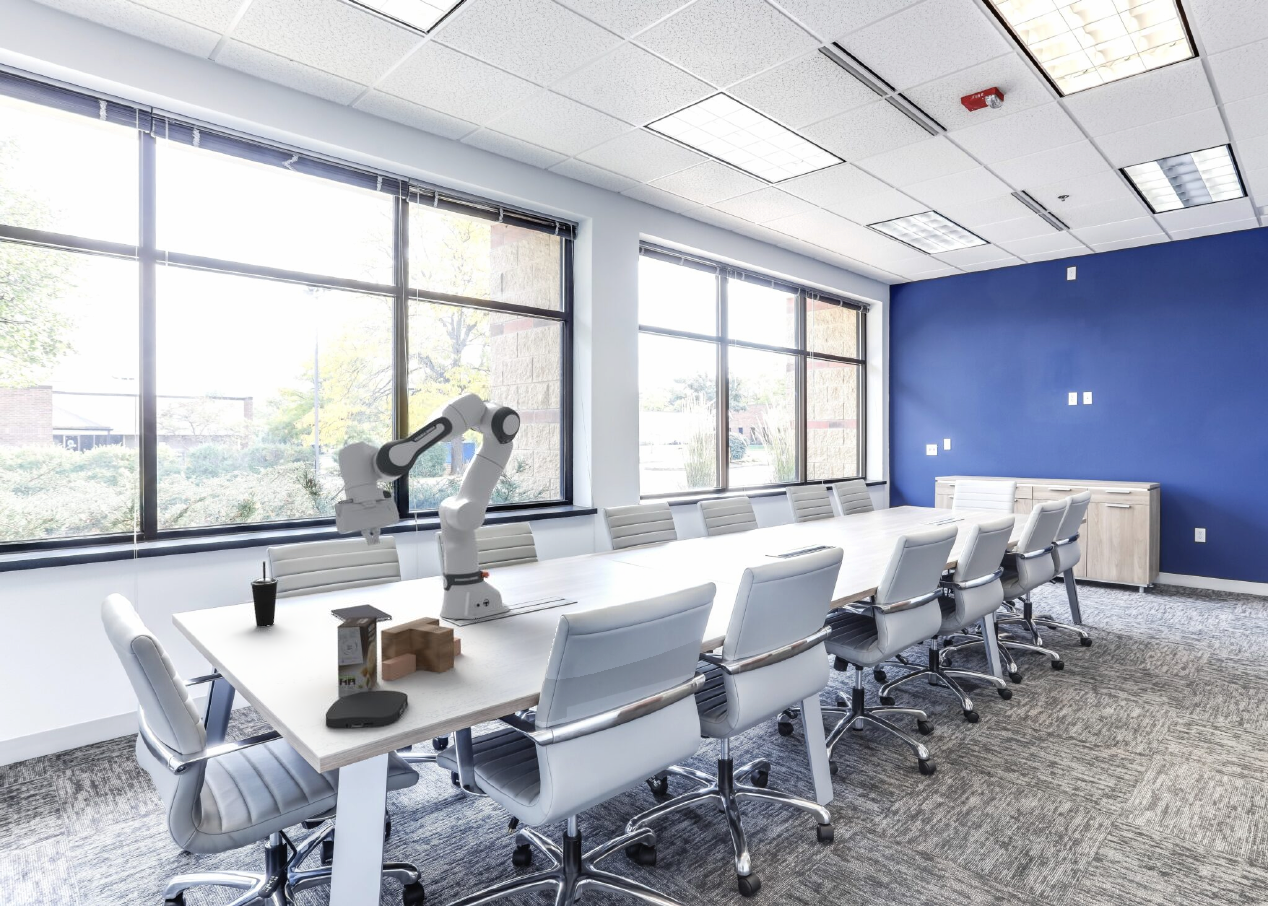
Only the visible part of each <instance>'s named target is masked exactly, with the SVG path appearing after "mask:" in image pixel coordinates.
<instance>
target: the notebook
mask: <svg viewBox="0 0 1268 906" xmlns="http://www.w3.org/2000/svg"><path fill="white" fill-rule="evenodd" d="M330 612H331V613H333V614H334V615H336V616H337V617H336V616H335V617H336V618H338V617H339V618H341V619H342V620H341V619H340V620H341V621H343V620H344V621H346V620H348V619H349V618H351V617H377V622H379V621H378V620H382V621H385V620H384V619H388V618H393V617H392V615H391V614H389V613H387V612H385V611H383V610H381V609H378V608H376V607H374V606H373V605H370V604H362V605H361V604H360V605H355V606H350V607H349V606H348V607H344V608H343V607H342V608H337V609H331V610H330ZM333 614H332V615H333ZM334 615H333V616H334ZM339 618H338V619H339ZM388 620H389V619H388ZM344 621H343V622H344Z"/></svg>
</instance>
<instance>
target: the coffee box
mask: <svg viewBox="0 0 1268 906" xmlns="http://www.w3.org/2000/svg"><path fill="white" fill-rule="evenodd" d="M377 622H378V621H377V617H351V618H349V619H348V620H346V621H345V622H344V621H343V622H342V623H341V624H340V625H338V626H336V627H337V675H338V676H337V684H338V685H337V690H338V691H337V694H338V695H337V696H338V698H342V697H345V696H348V695H352V694H355V693H360V692H366V691H372V689H373V688H374V687H375V686H376V684H377V683H378V632H377V631H378V627H377V626H378V625H377Z"/></svg>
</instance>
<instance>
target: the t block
mask: <svg viewBox="0 0 1268 906" xmlns="http://www.w3.org/2000/svg"><path fill="white" fill-rule="evenodd" d="M454 630H455V628H454V627H453V628H452V627H446V626H441V625H440V618H434V617H428V616H423V617H421V618H418V619H414V620H411V621H409V622H405V623H400V624H398V625H395V626H392V627H388V628H385V629H382V630H380V646H381V652H380V653H381V654H380V657H381V661H380V662H381V663H382V662H384V661H387V660H390V659H392V658H395V657H398V656H401V655H404V654H407V653H408V654H413V655H416V670H422V671H426V672H431V673H436V674H441V673H445V672H446V671H449V670H451V669H454V668H455V656H454V636H455V635H454V634H455V633H454V632H455V631H454Z"/></svg>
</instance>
